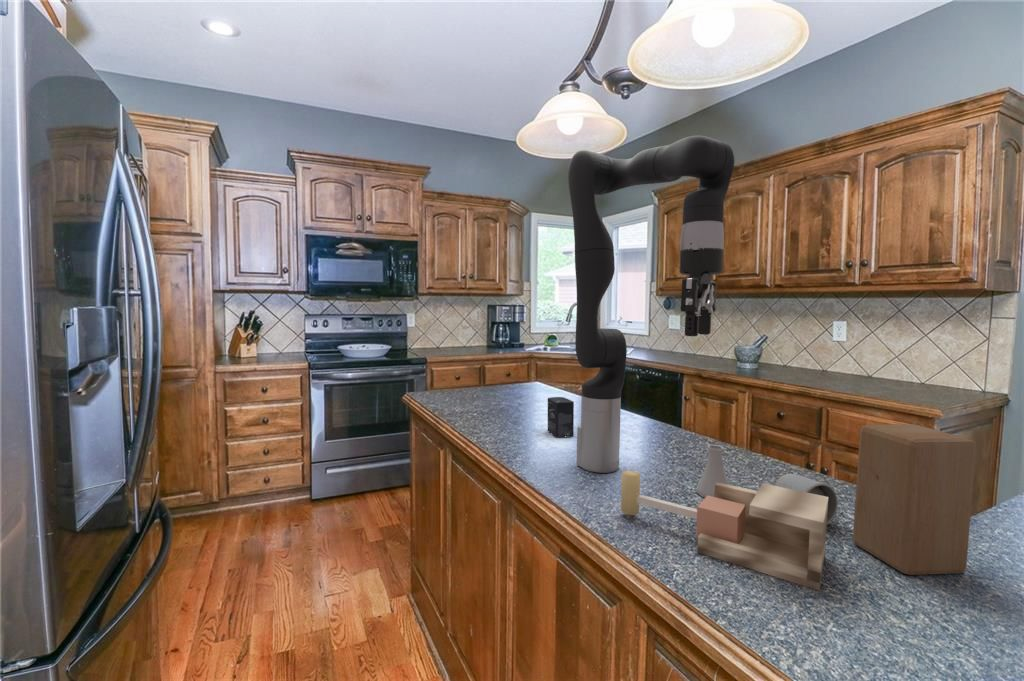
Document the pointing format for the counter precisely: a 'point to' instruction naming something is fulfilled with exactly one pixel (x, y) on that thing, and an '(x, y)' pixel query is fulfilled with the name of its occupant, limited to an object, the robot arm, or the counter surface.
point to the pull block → (690, 510)
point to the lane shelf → (775, 533)
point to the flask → (712, 472)
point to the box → (560, 416)
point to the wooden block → (914, 497)
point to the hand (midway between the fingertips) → (697, 335)
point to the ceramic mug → (810, 490)
